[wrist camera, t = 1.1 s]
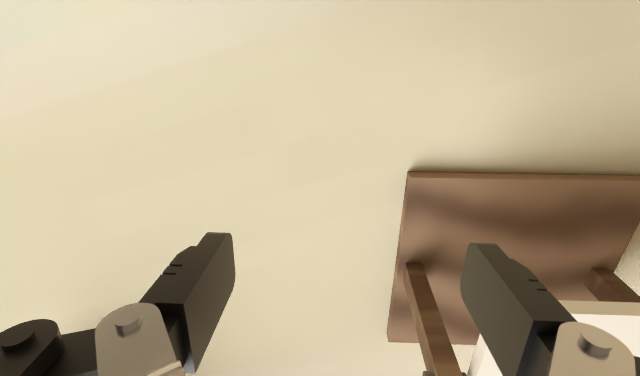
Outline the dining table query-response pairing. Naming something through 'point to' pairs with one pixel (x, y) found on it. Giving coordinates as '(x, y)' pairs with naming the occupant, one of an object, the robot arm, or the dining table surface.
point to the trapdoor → (613, 317)
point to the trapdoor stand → (504, 246)
